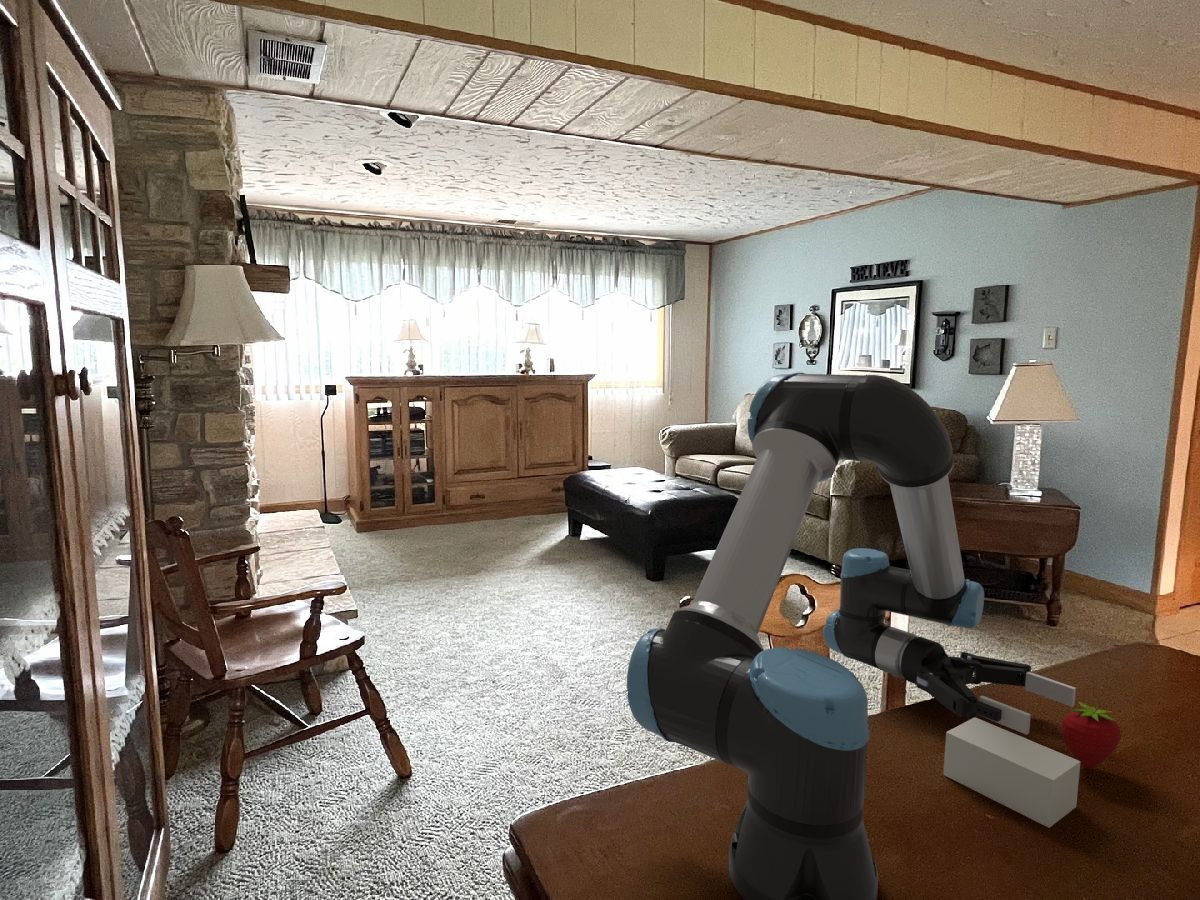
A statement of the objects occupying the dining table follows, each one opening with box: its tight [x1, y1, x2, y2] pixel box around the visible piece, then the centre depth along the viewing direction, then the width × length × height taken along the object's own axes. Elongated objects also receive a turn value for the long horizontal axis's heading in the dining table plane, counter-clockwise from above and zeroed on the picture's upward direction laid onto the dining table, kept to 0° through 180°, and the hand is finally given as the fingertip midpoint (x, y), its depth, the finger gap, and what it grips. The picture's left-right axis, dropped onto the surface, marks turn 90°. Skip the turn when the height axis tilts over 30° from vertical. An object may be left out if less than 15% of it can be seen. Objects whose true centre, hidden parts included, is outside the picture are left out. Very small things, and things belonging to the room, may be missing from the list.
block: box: [943, 717, 1081, 828], centre depth 91 cm, size 7×13×6 cm, turn 34°
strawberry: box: [1060, 694, 1122, 770], centre depth 96 cm, size 6×8×10 cm
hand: (1052, 710), depth 100 cm, fingers open, 13 cm apart
